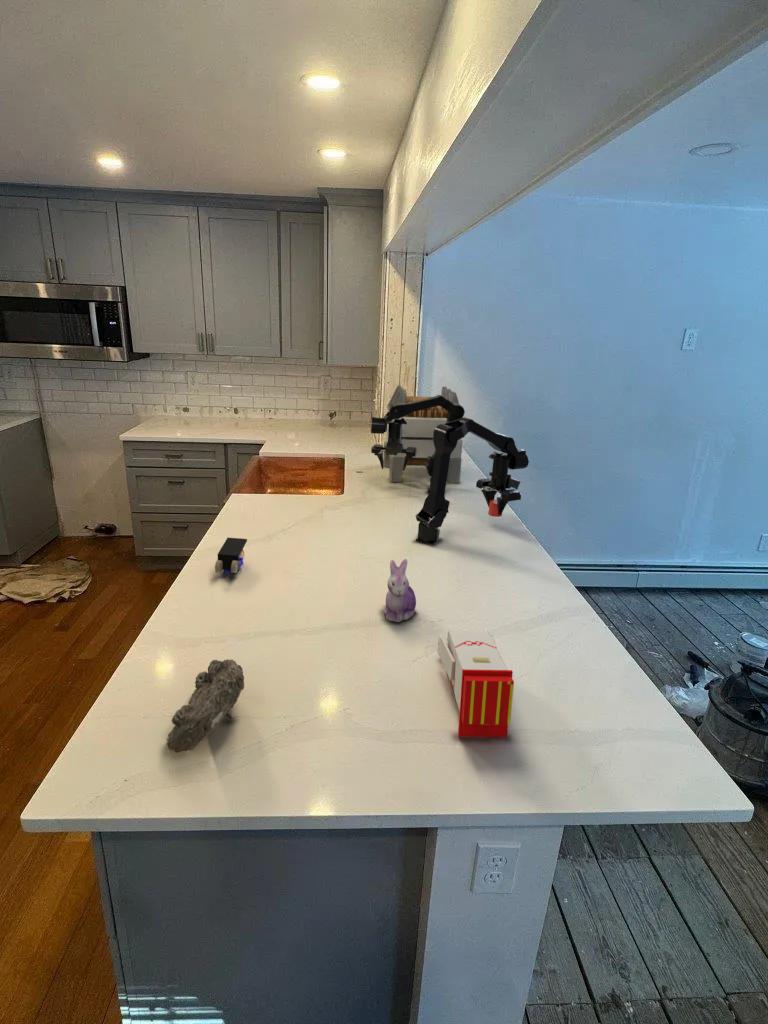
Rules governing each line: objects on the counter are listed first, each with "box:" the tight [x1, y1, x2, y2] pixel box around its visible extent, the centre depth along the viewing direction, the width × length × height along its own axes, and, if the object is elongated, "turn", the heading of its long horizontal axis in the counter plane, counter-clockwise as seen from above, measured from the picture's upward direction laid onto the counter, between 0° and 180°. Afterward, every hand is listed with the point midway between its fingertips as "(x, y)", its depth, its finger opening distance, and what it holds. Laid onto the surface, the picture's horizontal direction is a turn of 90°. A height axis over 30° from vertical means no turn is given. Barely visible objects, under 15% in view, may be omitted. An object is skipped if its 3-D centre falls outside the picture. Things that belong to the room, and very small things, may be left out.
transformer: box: [383, 384, 464, 484], centre depth 268 cm, size 34×33×41 cm
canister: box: [487, 499, 503, 518], centre depth 206 cm, size 5×5×5 cm
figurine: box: [384, 558, 417, 623], centre depth 145 cm, size 9×10×15 cm
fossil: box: [166, 658, 245, 754], centre depth 106 cm, size 22×10×15 cm
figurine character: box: [214, 537, 248, 578], centre depth 166 cm, size 7×8×15 cm
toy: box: [437, 628, 515, 738], centre depth 117 cm, size 12×13×30 cm
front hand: (495, 511), depth 206 cm, fingers closed on canister, 5 cm apart
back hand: (393, 469), depth 243 cm, fingers open, 9 cm apart
